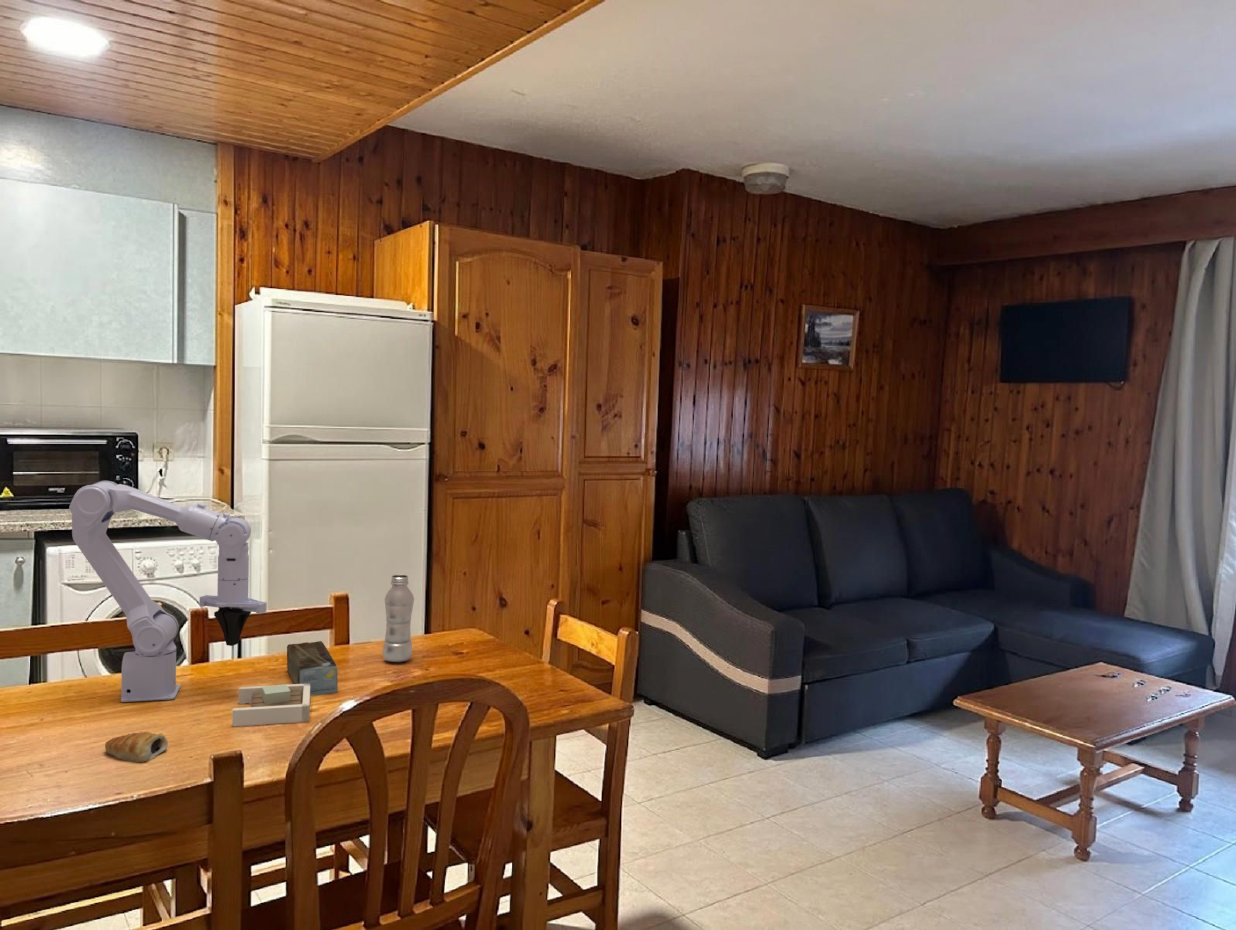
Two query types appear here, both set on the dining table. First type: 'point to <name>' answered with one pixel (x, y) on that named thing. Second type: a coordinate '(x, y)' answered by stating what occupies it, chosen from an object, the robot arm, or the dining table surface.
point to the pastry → (137, 746)
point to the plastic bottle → (398, 620)
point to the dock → (271, 708)
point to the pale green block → (275, 694)
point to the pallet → (258, 702)
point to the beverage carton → (312, 667)
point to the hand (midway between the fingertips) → (232, 644)
